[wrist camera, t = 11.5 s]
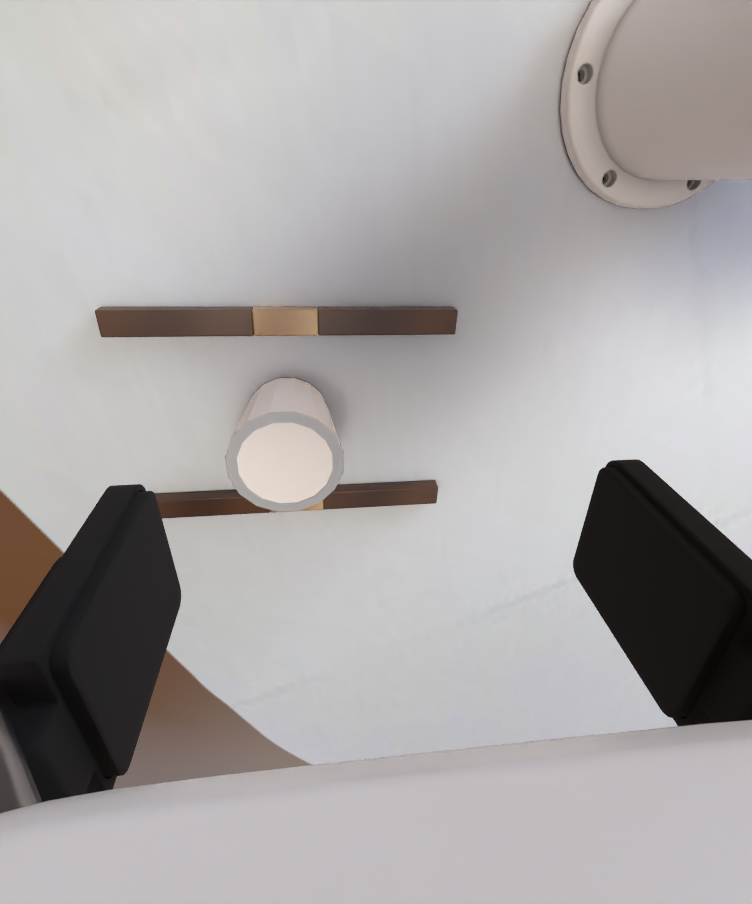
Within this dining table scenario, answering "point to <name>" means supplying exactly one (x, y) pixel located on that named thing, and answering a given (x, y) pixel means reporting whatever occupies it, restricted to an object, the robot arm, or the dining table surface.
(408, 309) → the guide rails
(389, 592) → the dining table surface
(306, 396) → the white cup
